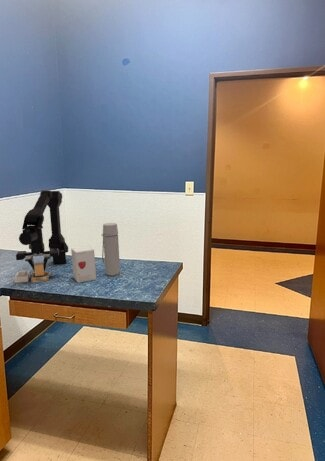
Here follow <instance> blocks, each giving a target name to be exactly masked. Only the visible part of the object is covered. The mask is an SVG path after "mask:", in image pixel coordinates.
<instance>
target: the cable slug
mask: <svg viewBox="0 0 325 461" xmlns="http://www.w3.org/2000/svg"><path fill="white" fill-rule="evenodd" d="M18 272H19V274H18V277H21V276H26V275H27V272H28V271H27V270H19V271H18Z"/></svg>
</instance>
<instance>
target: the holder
mask: <svg viewBox="0 0 325 461" xmlns="http://www.w3.org/2000/svg"><path fill="white" fill-rule="evenodd" d="M49 278H50V271H45V274H44V275H41V276H35V272H32V274H31V276H30V282H31V283H33V284H34V283H42V282H48V281H49V280H50V279H49Z"/></svg>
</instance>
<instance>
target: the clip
mask: <svg viewBox="0 0 325 461" xmlns="http://www.w3.org/2000/svg"><path fill="white" fill-rule="evenodd" d="M19 272H20V271H18V272H17V271H16V273H15V275H14V277H13V278H14V283H15V284H16V283H17V284H18V283H26V282H29V280H30V279H31V273H30V272H31V271H27V275H26V276H21V277H18V274H19Z"/></svg>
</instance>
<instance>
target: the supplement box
mask: <svg viewBox="0 0 325 461" xmlns="http://www.w3.org/2000/svg"><path fill="white" fill-rule="evenodd" d="M70 249H71V250H70V251H71V261H72V262H71V263H72V276H73V277H72V278H74V280H75V282H77V283H78V284H79V283H84V282H89V281H94V280H97V272H96V257H95V248H94V247H92V246H91V245H83V246H82V245H81V246H76V247H74V246H73V247H71V248H70Z"/></svg>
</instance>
